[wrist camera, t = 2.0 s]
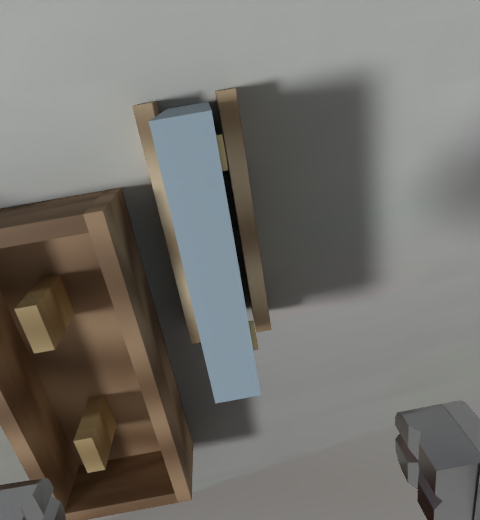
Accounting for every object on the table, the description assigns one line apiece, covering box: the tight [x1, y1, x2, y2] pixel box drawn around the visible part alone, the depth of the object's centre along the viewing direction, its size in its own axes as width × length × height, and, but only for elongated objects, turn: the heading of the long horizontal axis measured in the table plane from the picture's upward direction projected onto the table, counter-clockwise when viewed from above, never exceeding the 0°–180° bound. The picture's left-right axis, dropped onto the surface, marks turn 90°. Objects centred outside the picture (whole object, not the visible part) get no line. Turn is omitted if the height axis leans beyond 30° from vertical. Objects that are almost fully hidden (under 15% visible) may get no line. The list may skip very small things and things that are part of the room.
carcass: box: [0, 188, 193, 520], centre depth 27 cm, size 22×10×5 cm, turn 9°
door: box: [149, 102, 261, 404], centre depth 22 cm, size 14×3×9 cm, turn 9°
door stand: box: [132, 88, 271, 344], centre depth 25 cm, size 15×5×2 cm, turn 9°
